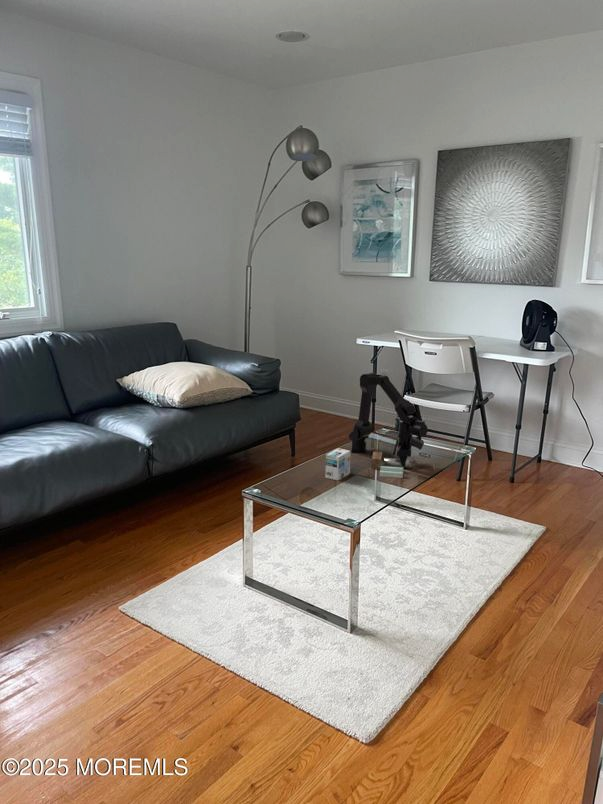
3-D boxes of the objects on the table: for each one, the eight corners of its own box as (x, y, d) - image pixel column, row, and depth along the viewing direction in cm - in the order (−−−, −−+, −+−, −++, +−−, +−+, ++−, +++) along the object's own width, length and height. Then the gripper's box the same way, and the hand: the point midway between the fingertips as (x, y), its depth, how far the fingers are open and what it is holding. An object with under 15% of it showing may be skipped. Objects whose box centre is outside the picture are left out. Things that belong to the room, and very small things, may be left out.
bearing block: (371, 468, 276) (372, 458, 274) (373, 461, 285) (373, 451, 284) (380, 469, 275) (381, 459, 274) (381, 461, 284) (382, 452, 283)
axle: (377, 466, 278) (378, 459, 277) (378, 463, 282) (378, 456, 280) (409, 468, 276) (409, 461, 275) (409, 465, 279) (409, 458, 278)
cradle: (379, 476, 267) (379, 472, 266) (380, 469, 274) (380, 465, 274) (402, 478, 265) (403, 473, 265) (403, 471, 273) (403, 467, 272)
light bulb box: (338, 481, 261) (338, 457, 259) (324, 477, 265) (325, 454, 262) (350, 473, 270) (351, 450, 267) (337, 470, 274) (338, 447, 271)
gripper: (423, 439, 263) (421, 473, 267) (423, 426, 281) (421, 458, 285) (397, 437, 265) (396, 471, 269) (398, 425, 283) (397, 457, 287)
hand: (403, 464), depth 278 cm, fingers closed on axle, 3 cm apart
